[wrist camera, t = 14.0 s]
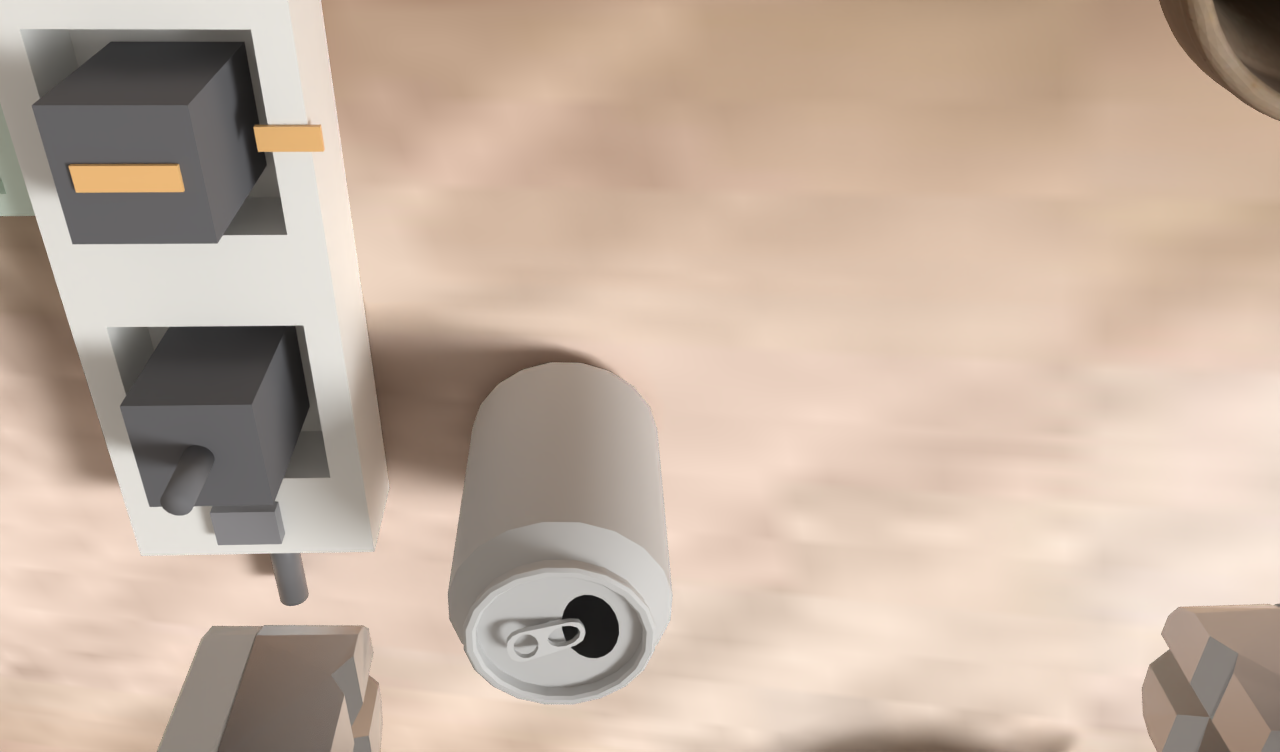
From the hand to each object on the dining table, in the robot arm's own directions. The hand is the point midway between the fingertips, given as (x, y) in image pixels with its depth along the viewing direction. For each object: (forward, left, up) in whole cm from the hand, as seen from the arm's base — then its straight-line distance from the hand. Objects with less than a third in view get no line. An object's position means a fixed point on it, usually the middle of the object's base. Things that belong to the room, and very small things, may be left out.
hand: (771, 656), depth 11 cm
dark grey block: (+4, -15, -28) cm, 32 cm away
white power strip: (+12, -15, -29) cm, 35 cm away
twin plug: (+14, -15, -28) cm, 35 cm away
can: (+18, -3, -29) cm, 34 cm away
